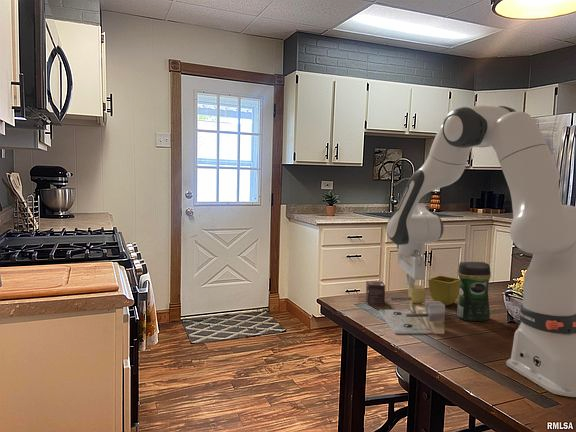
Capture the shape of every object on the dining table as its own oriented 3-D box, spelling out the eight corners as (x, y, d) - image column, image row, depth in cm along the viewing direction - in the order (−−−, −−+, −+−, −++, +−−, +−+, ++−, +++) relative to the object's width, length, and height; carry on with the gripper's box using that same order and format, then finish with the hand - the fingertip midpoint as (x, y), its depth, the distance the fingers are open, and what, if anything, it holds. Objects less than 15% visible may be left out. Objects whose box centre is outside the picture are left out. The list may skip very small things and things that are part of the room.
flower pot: (426, 302, 158) (427, 278, 157) (438, 298, 164) (439, 275, 163) (449, 308, 151) (450, 283, 151) (461, 303, 157) (462, 279, 156)
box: (365, 300, 161) (366, 280, 161) (381, 300, 161) (382, 281, 160) (368, 304, 155) (368, 284, 155) (384, 305, 155) (385, 285, 154)
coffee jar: (482, 314, 144) (485, 259, 143) (492, 322, 136) (495, 264, 135) (453, 314, 145) (455, 259, 143) (461, 321, 137) (463, 264, 135)
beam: (446, 333, 126) (447, 307, 126) (410, 333, 126) (410, 307, 126) (420, 308, 150) (421, 286, 150) (390, 308, 150) (390, 286, 150)
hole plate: (428, 333, 126) (429, 330, 126) (394, 333, 126) (395, 330, 126) (409, 312, 146) (409, 309, 146) (379, 312, 146) (379, 309, 146)
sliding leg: (424, 302, 146) (425, 288, 146) (393, 303, 146) (393, 288, 146) (420, 299, 150) (421, 285, 150) (390, 299, 150) (390, 285, 150)
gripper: (430, 253, 142) (429, 294, 144) (412, 243, 163) (410, 279, 164) (411, 253, 142) (410, 294, 144) (395, 243, 163) (394, 279, 164)
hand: (410, 286), depth 154 cm, fingers closed
